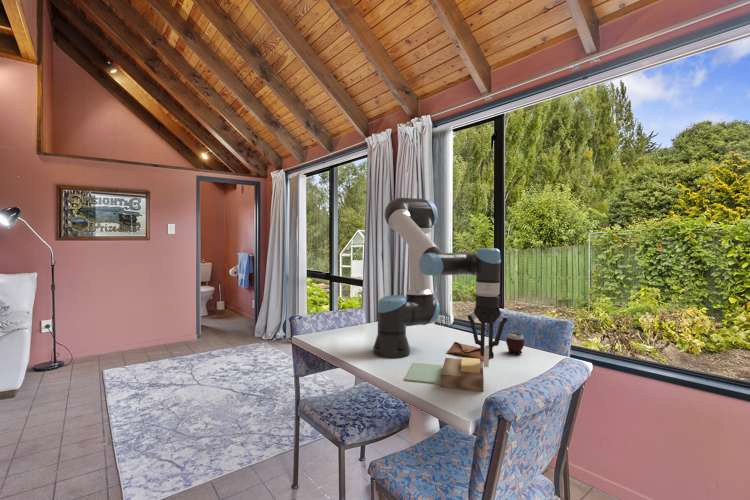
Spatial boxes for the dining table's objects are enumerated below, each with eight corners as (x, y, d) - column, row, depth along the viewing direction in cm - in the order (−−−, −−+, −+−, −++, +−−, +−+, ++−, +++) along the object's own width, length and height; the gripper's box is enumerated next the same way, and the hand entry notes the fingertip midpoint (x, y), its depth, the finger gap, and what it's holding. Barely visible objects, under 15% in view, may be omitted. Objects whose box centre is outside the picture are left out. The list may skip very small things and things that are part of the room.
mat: (404, 380, 124) (404, 379, 124) (413, 363, 142) (413, 362, 142) (441, 384, 121) (441, 382, 121) (445, 366, 139) (445, 365, 139)
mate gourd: (502, 351, 159) (503, 316, 159) (519, 350, 161) (520, 315, 161) (513, 356, 152) (513, 319, 152) (530, 355, 154) (530, 319, 154)
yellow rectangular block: (460, 371, 122) (460, 365, 122) (461, 362, 131) (462, 357, 131) (480, 373, 120) (480, 367, 120) (479, 364, 129) (479, 358, 129)
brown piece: (440, 386, 119) (440, 374, 119) (445, 368, 137) (445, 357, 137) (483, 391, 116) (483, 378, 116) (482, 372, 133) (482, 360, 133)
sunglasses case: (443, 353, 155) (448, 337, 158) (450, 358, 160) (454, 343, 163) (485, 362, 144) (489, 345, 146) (491, 368, 149) (495, 351, 151)
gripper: (467, 295, 122) (465, 367, 123) (509, 297, 119) (507, 371, 119) (467, 292, 129) (466, 360, 130) (507, 294, 126) (505, 364, 126)
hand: (486, 365), depth 124 cm, fingers closed
